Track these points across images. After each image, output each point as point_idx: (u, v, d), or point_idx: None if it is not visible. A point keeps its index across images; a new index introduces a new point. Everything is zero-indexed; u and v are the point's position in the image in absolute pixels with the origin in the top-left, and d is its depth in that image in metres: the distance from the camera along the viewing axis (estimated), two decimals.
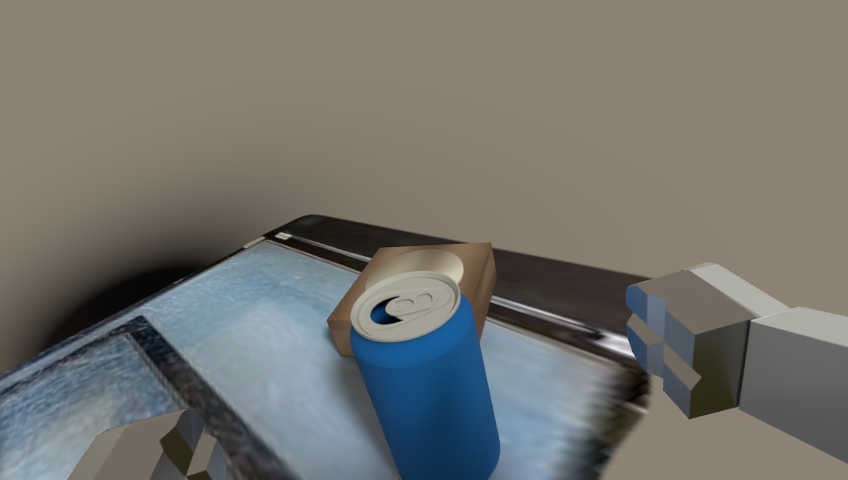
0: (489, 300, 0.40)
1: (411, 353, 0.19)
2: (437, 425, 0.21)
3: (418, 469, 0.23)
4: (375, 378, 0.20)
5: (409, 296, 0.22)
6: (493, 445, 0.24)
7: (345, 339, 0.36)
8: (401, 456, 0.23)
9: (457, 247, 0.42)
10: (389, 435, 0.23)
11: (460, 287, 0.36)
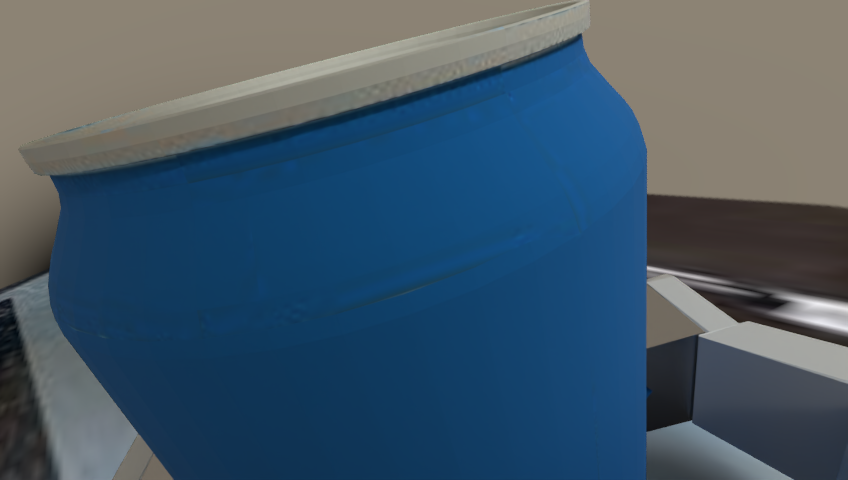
0: None
1: (300, 241, 0.02)
2: None
3: None
4: (134, 423, 0.04)
5: None
6: None
7: None
8: None
9: None
10: None
11: None
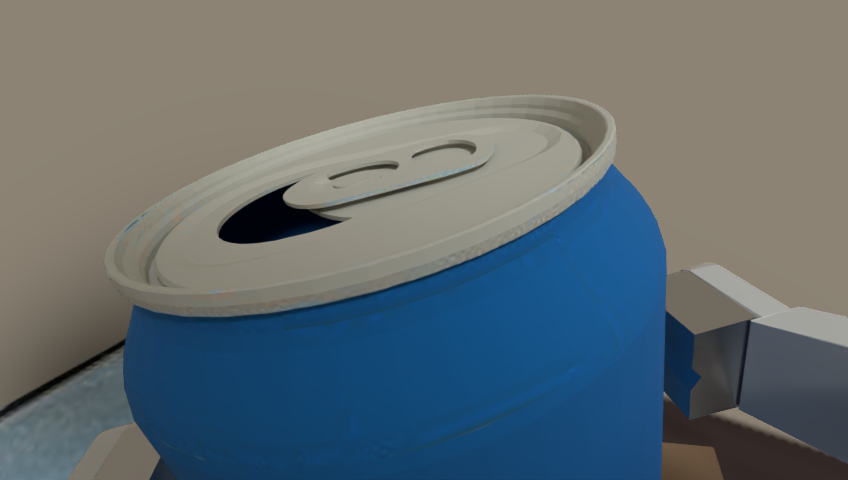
0: None
1: (386, 386, 0.03)
2: None
3: None
4: None
5: (382, 157, 0.06)
6: None
7: None
8: None
9: None
10: None
11: None
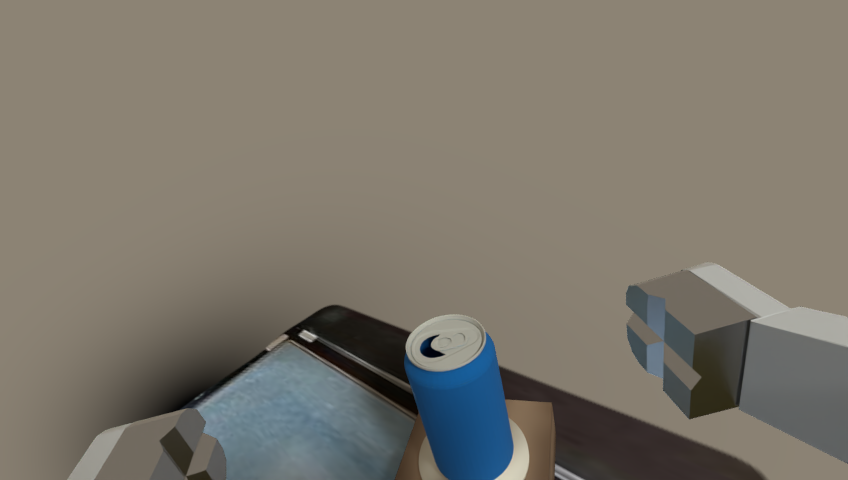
0: None
1: (454, 379, 0.27)
2: (471, 429, 0.29)
3: (455, 462, 0.31)
4: (427, 397, 0.28)
5: (447, 334, 0.30)
6: (509, 443, 0.32)
7: None
8: (442, 454, 0.31)
9: (514, 406, 0.38)
10: (433, 438, 0.31)
11: None
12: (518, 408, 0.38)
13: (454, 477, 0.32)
